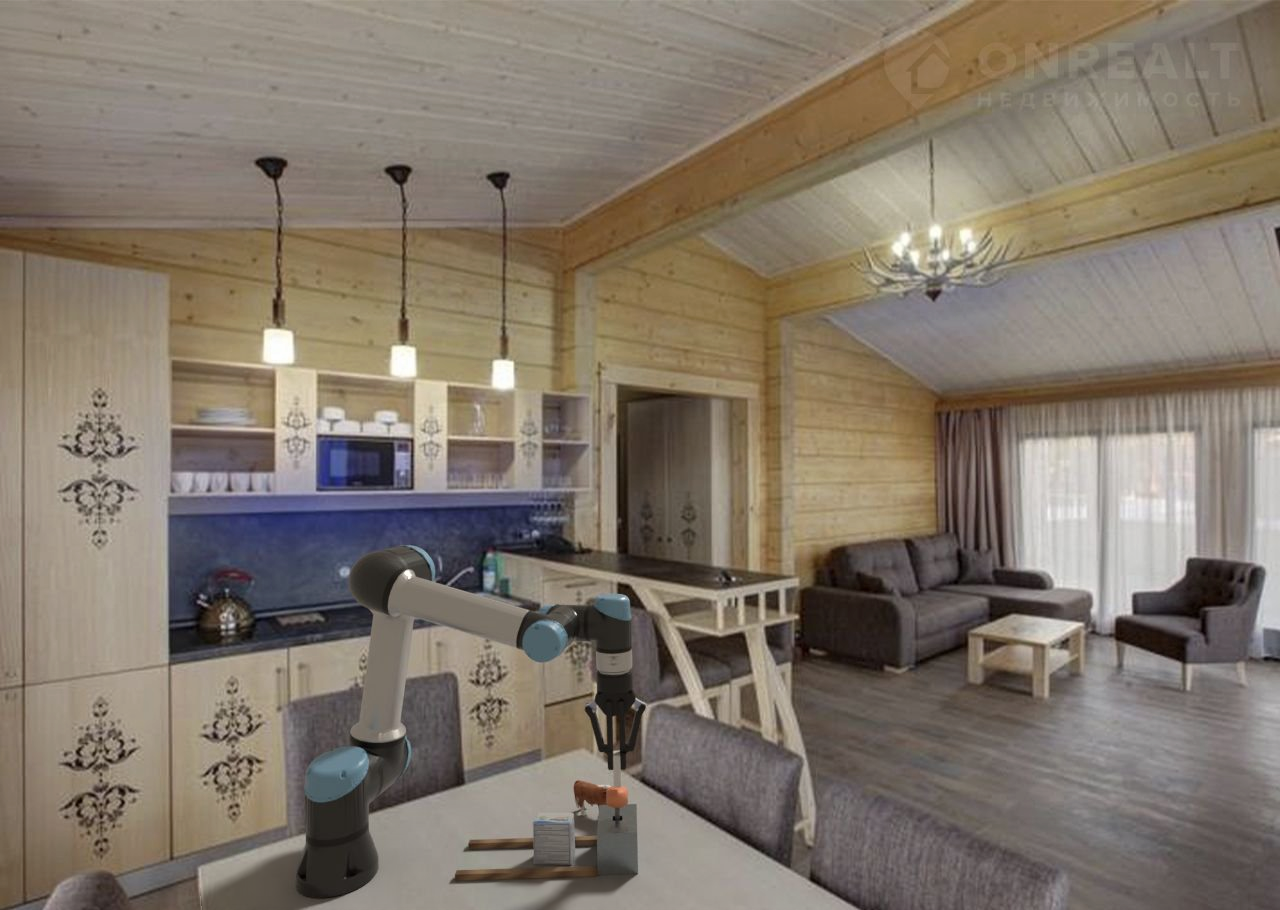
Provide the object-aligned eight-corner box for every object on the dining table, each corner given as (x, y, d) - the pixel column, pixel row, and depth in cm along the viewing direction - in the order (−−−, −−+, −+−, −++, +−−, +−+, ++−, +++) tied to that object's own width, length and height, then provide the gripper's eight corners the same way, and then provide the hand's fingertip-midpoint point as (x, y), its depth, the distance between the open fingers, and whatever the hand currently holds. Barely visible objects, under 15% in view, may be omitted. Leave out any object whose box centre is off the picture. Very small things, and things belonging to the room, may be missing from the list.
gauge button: (606, 827, 142) (605, 795, 142) (607, 817, 147) (606, 785, 147) (628, 827, 142) (627, 794, 142) (628, 816, 147) (627, 785, 147)
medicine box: (575, 854, 146) (574, 812, 146) (571, 866, 142) (570, 822, 142) (538, 853, 147) (537, 811, 147) (533, 865, 142) (532, 822, 142)
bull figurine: (614, 829, 156) (613, 792, 156) (570, 812, 164) (569, 777, 164) (626, 821, 159) (625, 784, 160) (582, 805, 168) (581, 770, 168)
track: (454, 880, 137) (454, 874, 137) (469, 845, 150) (469, 839, 150) (597, 876, 138) (597, 870, 138) (600, 841, 151) (600, 835, 151)
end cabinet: (597, 874, 138) (596, 833, 138) (600, 842, 150) (599, 805, 150) (638, 873, 138) (637, 832, 139) (637, 841, 150) (636, 803, 151)
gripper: (581, 676, 141) (584, 794, 141) (646, 674, 142) (649, 792, 141) (584, 666, 149) (587, 778, 148) (645, 664, 149) (648, 775, 149)
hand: (617, 784), depth 145 cm, fingers closed
